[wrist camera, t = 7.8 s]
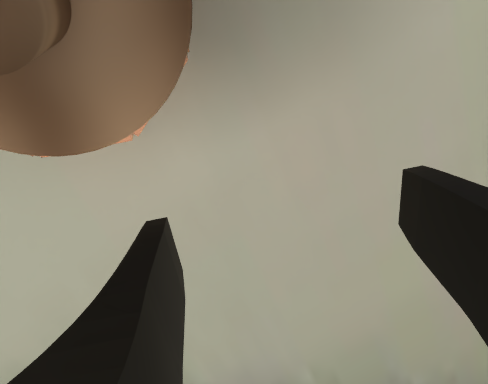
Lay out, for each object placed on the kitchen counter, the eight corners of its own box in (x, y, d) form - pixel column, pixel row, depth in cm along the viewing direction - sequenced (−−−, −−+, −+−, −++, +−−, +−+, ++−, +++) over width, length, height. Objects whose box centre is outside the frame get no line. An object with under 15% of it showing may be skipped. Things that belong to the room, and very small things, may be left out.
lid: (154, -241, 11) (144, -341, 7) (211, 126, 17) (222, 171, 13) (-268, -205, 10) (-517, -299, 7) (-57, 168, 16) (-126, 229, 12)
